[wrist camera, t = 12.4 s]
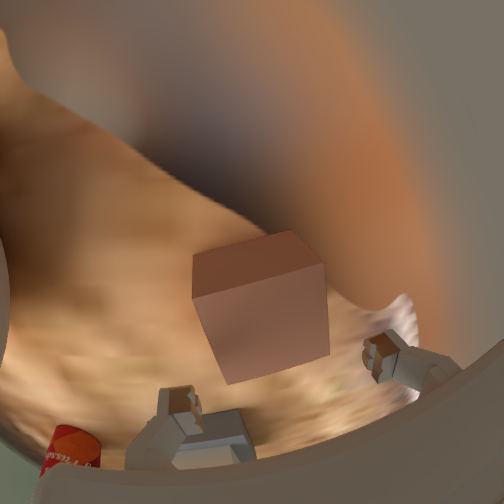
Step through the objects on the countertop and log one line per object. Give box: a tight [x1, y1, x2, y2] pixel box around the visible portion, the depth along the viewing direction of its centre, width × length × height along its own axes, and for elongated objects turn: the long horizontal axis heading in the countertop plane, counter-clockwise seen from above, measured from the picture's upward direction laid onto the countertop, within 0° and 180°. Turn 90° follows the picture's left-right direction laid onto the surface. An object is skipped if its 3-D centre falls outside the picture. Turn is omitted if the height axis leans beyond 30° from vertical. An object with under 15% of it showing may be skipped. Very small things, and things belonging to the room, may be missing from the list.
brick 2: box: [192, 229, 330, 385], centre depth 15 cm, size 6×6×5 cm
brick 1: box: [171, 445, 241, 470], centre depth 18 cm, size 6×6×5 cm
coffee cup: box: [39, 425, 101, 478], centre depth 14 cm, size 8×8×15 cm
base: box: [147, 409, 257, 463], centre depth 22 cm, size 9×9×3 cm
